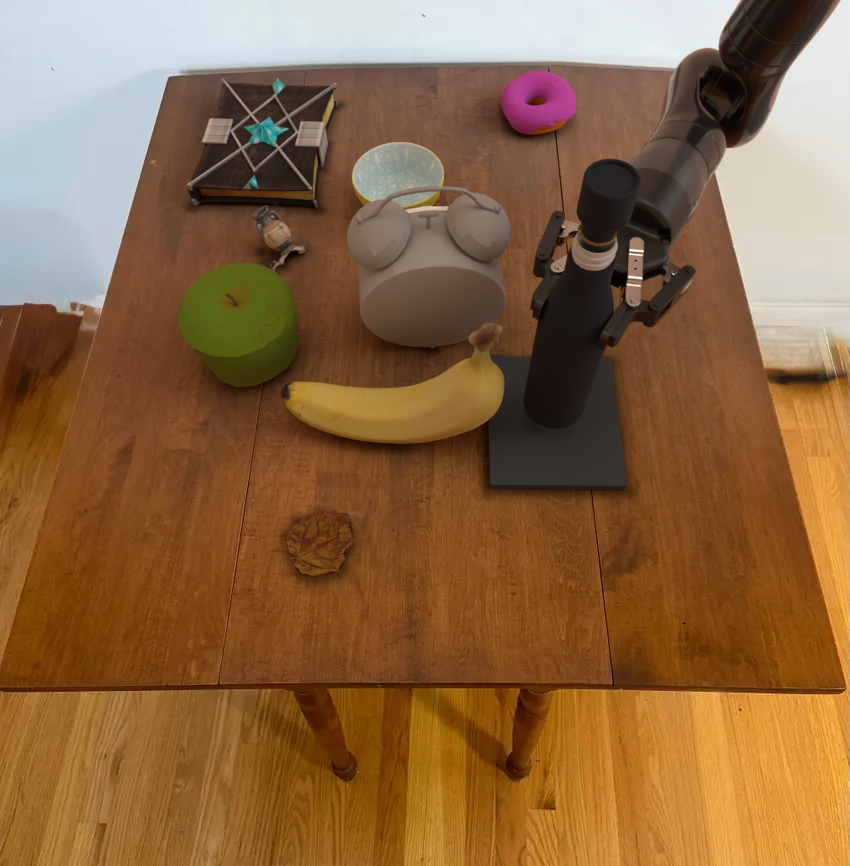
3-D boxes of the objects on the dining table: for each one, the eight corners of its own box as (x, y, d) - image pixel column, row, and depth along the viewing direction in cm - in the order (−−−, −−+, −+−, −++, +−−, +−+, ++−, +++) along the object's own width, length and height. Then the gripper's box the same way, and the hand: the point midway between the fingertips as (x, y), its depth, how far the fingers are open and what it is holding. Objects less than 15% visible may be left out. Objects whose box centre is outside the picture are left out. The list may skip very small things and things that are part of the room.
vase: (249, 246, 91) (237, 211, 86) (286, 227, 93) (276, 191, 88) (271, 272, 89) (260, 238, 84) (308, 252, 91) (299, 217, 86)
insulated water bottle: (535, 435, 73) (585, 221, 46) (514, 384, 76) (551, 155, 49) (594, 420, 74) (676, 200, 47) (572, 370, 77) (638, 136, 50)
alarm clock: (496, 296, 87) (511, 146, 67) (505, 355, 83) (524, 213, 63) (360, 306, 86) (336, 159, 67) (363, 366, 82) (338, 227, 63)
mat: (609, 361, 82) (610, 356, 81) (624, 489, 74) (627, 485, 73) (486, 361, 82) (486, 356, 81) (489, 488, 75) (490, 484, 74)
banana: (286, 444, 78) (240, 334, 60) (297, 399, 80) (256, 280, 63) (495, 463, 76) (511, 355, 58) (498, 415, 79) (514, 299, 61)
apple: (272, 417, 79) (248, 359, 69) (180, 379, 82) (144, 318, 72) (326, 333, 85) (310, 268, 75) (238, 300, 87) (212, 233, 77)
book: (227, 100, 105) (217, 68, 101) (340, 103, 104) (335, 71, 100) (192, 207, 95) (180, 177, 91) (318, 211, 94) (312, 182, 90)
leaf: (286, 519, 74) (281, 515, 72) (351, 505, 73) (347, 500, 72) (294, 581, 71) (289, 578, 70) (361, 566, 71) (357, 563, 69)
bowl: (393, 257, 90) (390, 221, 85) (339, 207, 94) (333, 169, 89) (461, 214, 93) (463, 176, 88) (407, 167, 98) (404, 129, 92)
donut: (494, 97, 104) (496, 68, 100) (563, 89, 105) (567, 60, 101) (508, 145, 99) (511, 117, 95) (580, 137, 100) (586, 108, 96)
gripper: (588, 140, 65) (496, 263, 58) (741, 198, 61) (661, 338, 54) (575, 202, 72) (491, 320, 65) (712, 259, 68) (638, 390, 61)
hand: (569, 327), depth 60 cm, fingers closed on insulated water bottle, 5 cm apart
